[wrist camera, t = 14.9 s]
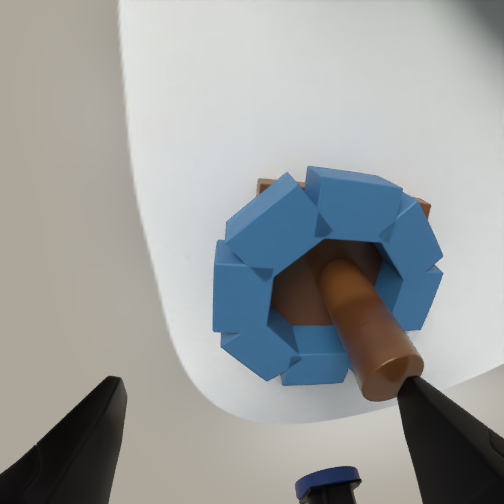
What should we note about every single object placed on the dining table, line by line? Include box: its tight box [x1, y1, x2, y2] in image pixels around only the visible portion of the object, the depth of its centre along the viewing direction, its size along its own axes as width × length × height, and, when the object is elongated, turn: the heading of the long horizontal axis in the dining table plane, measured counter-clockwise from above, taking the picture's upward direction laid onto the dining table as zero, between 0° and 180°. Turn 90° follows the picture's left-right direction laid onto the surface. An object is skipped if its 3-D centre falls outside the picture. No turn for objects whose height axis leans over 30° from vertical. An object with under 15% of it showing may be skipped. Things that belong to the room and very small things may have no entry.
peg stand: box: [256, 179, 431, 402], centre depth 13 cm, size 9×9×8 cm
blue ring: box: [213, 166, 443, 386], centre depth 14 cm, size 11×11×2 cm
